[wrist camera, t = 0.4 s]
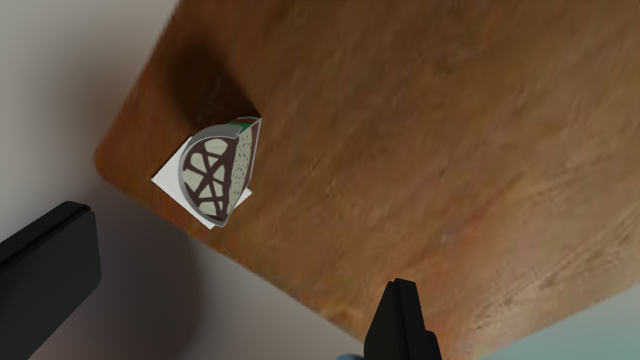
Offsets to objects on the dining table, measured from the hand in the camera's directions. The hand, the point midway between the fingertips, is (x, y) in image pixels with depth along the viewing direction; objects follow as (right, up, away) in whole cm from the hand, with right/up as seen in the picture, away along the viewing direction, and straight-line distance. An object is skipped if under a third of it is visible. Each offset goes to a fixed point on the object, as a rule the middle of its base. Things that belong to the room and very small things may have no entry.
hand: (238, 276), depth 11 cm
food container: (-9, +8, +34) cm, 36 cm away
